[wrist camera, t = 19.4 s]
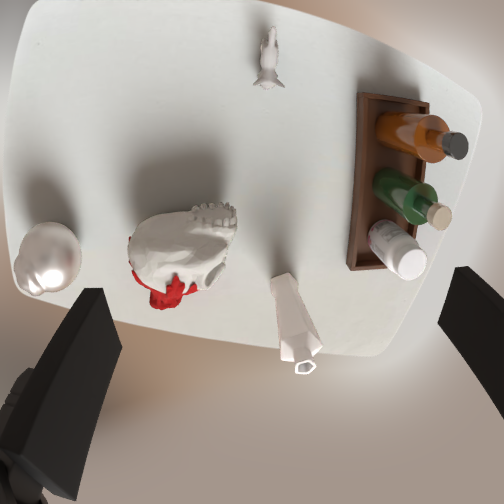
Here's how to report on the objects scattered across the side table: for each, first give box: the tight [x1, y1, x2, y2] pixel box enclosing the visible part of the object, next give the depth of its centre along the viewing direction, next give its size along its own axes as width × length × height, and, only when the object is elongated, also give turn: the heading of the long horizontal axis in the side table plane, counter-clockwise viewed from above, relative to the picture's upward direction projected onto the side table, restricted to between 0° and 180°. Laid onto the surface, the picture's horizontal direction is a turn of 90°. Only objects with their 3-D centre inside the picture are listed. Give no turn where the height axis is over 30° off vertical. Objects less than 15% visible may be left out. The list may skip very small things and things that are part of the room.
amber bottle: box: [375, 111, 468, 163], centre depth 27 cm, size 5×5×13 cm
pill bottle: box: [368, 219, 427, 280], centre depth 35 cm, size 5×5×8 cm
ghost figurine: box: [14, 222, 82, 296], centre depth 32 cm, size 9×10×10 cm
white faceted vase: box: [271, 273, 323, 374], centre depth 35 cm, size 5×4×15 cm
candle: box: [128, 202, 237, 310], centre depth 34 cm, size 9×11×15 cm
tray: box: [346, 92, 429, 271], centre depth 35 cm, size 22×9×2 cm, turn 1°
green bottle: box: [372, 167, 452, 230], centre depth 30 cm, size 5×5×12 cm
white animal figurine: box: [253, 26, 285, 90], centre depth 27 cm, size 3×8×6 cm
